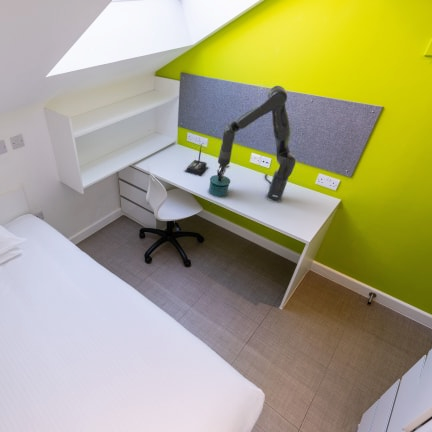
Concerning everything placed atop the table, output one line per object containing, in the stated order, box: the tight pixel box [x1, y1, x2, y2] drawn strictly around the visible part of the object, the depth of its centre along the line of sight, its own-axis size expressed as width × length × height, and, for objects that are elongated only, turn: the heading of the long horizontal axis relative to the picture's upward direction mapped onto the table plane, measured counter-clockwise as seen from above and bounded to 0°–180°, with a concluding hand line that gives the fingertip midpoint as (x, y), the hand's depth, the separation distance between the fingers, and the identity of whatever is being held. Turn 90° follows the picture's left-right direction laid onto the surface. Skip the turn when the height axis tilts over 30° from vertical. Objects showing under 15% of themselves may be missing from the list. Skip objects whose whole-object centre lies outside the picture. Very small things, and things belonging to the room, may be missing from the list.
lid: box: [209, 174, 231, 186], centre depth 201 cm, size 14×14×6 cm
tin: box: [208, 180, 230, 198], centre depth 206 cm, size 13×13×8 cm
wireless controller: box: [184, 143, 209, 177], centre depth 231 cm, size 20×14×17 cm
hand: (220, 179), depth 202 cm, fingers closed on lid, 2 cm apart
